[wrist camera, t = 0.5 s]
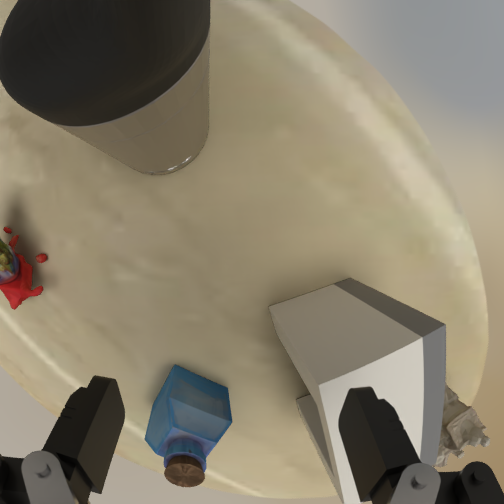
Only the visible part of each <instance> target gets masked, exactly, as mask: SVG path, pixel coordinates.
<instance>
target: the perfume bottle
mask: <svg viewBox="0 0 504 504" xmlns="http://www.w3.org/2000/svg"><path fill="white" fill-rule="evenodd" d="M231 423H232V416H231V409H230V401H229V393H228V388H227V387H225V386H222V385H220V384H217V383H215V382H213V381H210V380H208V379H206V378H204V377H201V376H199V375H197V374H195V373H192V372H190V371H188V370H186V369H184V368H182V367H179V366H177V365H174V367H173V369H172V370H171V372H170V374H169V376H168V378H167V380H166V381H165V383H164V385H163V387H162V389H161V391H160V393H159V394H158V396H157V398H156V400H155V402H154V404H153V407H152V411H151V415H150V419H149V423H148V427H147V431H146V435H145V441H146V442H147V443H148V444H149V446H150V447H151V448H152V449H153V451H154V452H155V453H156V454H157V455H160V456H162V457H164V467H165V468H166V469H165V472H164V474H165V477H166V479H167V480H168V481H169V482H171V483H172V484H175V485H177V486H181V487H194V486H197V485H200V484H201V483H202V482H203V481H204V479H205V474H204V472H205V470H206V457H207V456H208V455H209V453H210V452H211V451H212V449H213V448H214V447H215V445H216V444H217V443H218V441H219V440H220V439H221V437H222V436H223V434H224V433H225V432H226V430H227V429H228V427H229V426H230V425H231Z"/></svg>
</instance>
